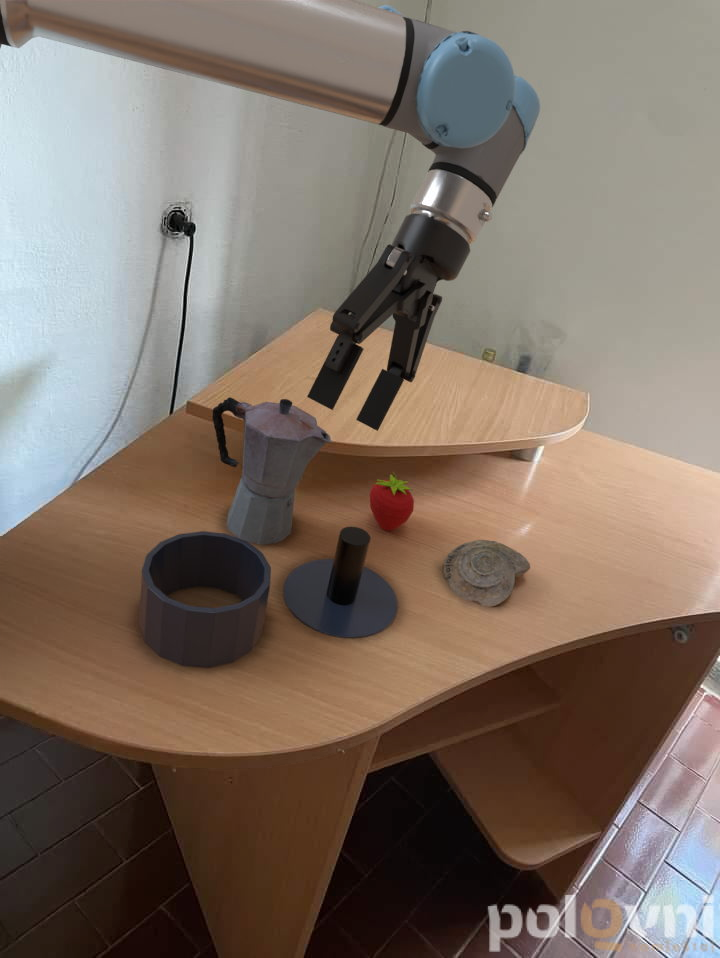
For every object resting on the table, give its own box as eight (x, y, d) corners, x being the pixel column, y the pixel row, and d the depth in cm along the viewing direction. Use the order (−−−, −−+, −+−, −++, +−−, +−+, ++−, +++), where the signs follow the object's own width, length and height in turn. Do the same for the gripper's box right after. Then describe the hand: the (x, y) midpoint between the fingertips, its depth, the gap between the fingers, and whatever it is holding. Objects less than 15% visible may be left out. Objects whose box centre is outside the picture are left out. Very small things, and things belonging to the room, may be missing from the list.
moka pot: (302, 565, 90) (329, 429, 79) (187, 536, 90) (199, 396, 80) (317, 525, 98) (343, 397, 88) (212, 498, 98) (226, 368, 88)
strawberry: (376, 549, 96) (391, 489, 91) (354, 518, 101) (368, 459, 96) (413, 545, 98) (430, 486, 93) (390, 514, 104) (405, 457, 99)
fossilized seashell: (430, 550, 95) (462, 517, 91) (484, 565, 101) (517, 535, 97) (456, 615, 88) (492, 581, 84) (513, 627, 93) (549, 596, 90)
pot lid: (310, 655, 76) (325, 584, 71) (265, 575, 86) (276, 507, 81) (416, 631, 83) (437, 564, 78) (363, 559, 93) (379, 496, 88)
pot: (156, 686, 69) (160, 623, 65) (128, 600, 78) (130, 539, 74) (278, 658, 75) (289, 599, 71) (239, 582, 84) (246, 525, 80)
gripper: (444, 182, 58) (328, 409, 60) (492, 285, 81) (408, 446, 83) (369, 155, 61) (261, 374, 62) (437, 262, 84) (357, 419, 86)
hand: (345, 415), depth 73 cm, fingers open, 13 cm apart
